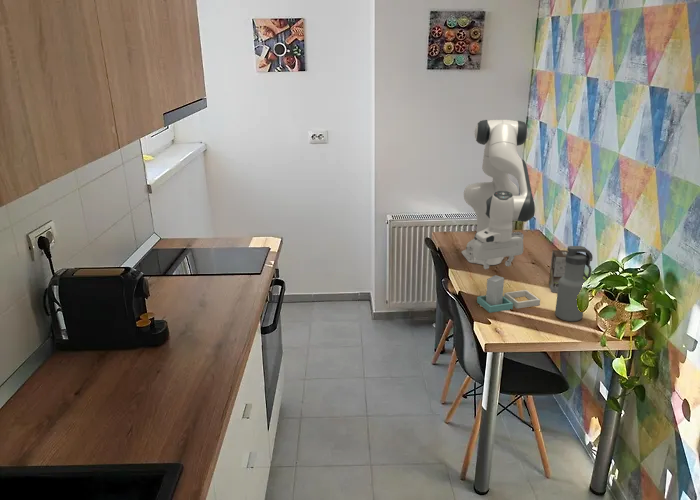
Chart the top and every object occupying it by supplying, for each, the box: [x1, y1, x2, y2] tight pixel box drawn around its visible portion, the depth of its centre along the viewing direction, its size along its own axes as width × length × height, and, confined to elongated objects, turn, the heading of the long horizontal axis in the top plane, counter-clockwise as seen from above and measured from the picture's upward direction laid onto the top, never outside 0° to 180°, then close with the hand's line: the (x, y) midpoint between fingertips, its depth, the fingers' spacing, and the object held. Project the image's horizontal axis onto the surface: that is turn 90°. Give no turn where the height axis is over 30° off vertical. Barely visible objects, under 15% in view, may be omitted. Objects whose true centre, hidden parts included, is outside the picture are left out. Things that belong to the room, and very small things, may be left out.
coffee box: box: [548, 249, 568, 293], centre depth 228 cm, size 9×6×16 cm
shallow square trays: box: [476, 289, 541, 313], centre depth 218 cm, size 10×22×2 cm, turn 105°
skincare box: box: [485, 274, 505, 306], centre depth 214 cm, size 6×4×12 cm
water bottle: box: [554, 245, 593, 322], centre depth 202 cm, size 10×10×28 cm
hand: (497, 267), depth 211 cm, fingers open, 8 cm apart
